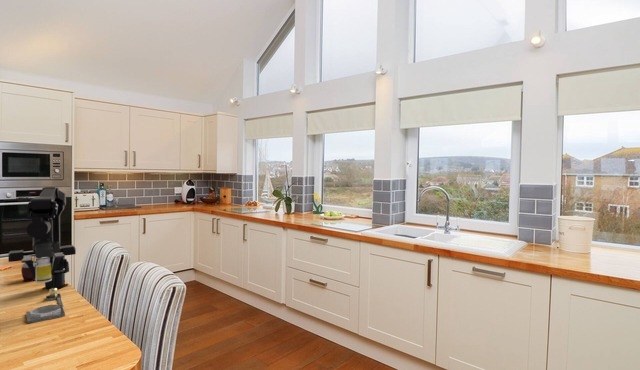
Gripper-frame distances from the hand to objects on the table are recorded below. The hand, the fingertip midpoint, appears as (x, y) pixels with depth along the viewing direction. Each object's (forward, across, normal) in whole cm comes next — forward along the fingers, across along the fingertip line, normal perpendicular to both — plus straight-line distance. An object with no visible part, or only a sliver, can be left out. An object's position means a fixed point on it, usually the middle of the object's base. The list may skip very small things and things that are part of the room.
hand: (43, 276), depth 127 cm
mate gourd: (+12, -2, +47) cm, 48 cm away
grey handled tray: (+12, 0, +2) cm, 12 cm away
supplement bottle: (+2, 0, 0) cm, 2 cm away
